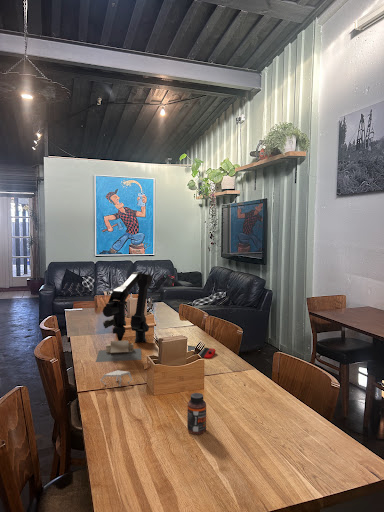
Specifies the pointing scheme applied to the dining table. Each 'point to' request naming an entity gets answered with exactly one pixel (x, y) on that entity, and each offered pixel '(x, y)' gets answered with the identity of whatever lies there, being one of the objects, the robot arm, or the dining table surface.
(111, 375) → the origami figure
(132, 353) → the mat
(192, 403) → the supplement bottle
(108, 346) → the rail
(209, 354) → the gaming console
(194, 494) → the dining table surface
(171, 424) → the dining table surface
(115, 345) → the deck
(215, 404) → the dining table surface
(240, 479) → the dining table surface
